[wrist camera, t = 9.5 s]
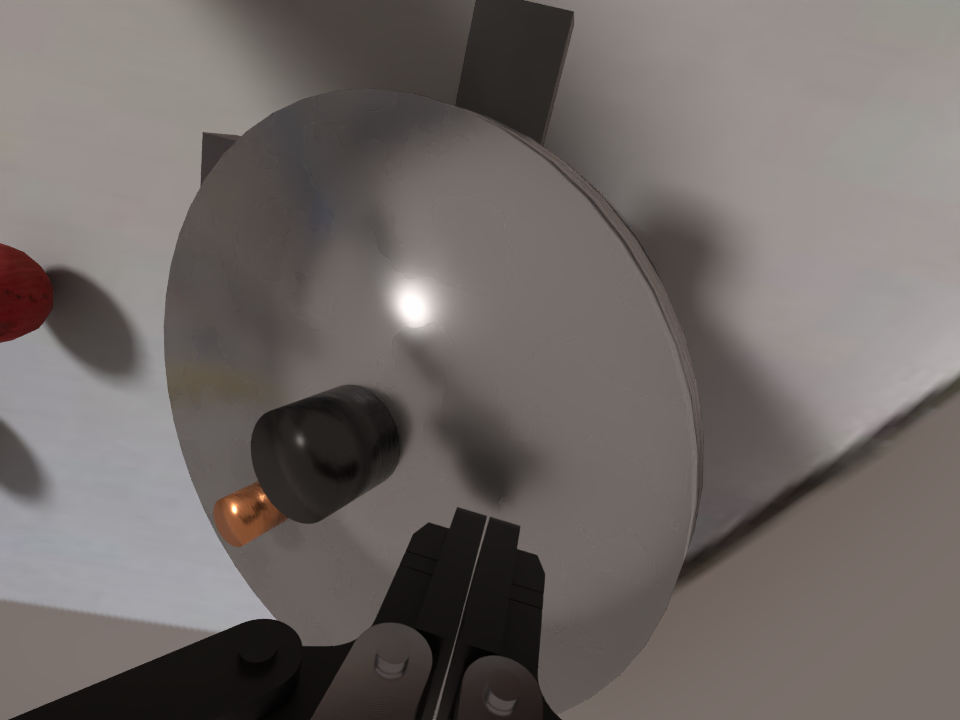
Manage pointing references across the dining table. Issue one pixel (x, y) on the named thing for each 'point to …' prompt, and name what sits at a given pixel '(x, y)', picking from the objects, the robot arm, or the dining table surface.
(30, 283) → the pomegranate
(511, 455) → the cooker lid
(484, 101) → the cooker pot
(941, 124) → the dining table surface
